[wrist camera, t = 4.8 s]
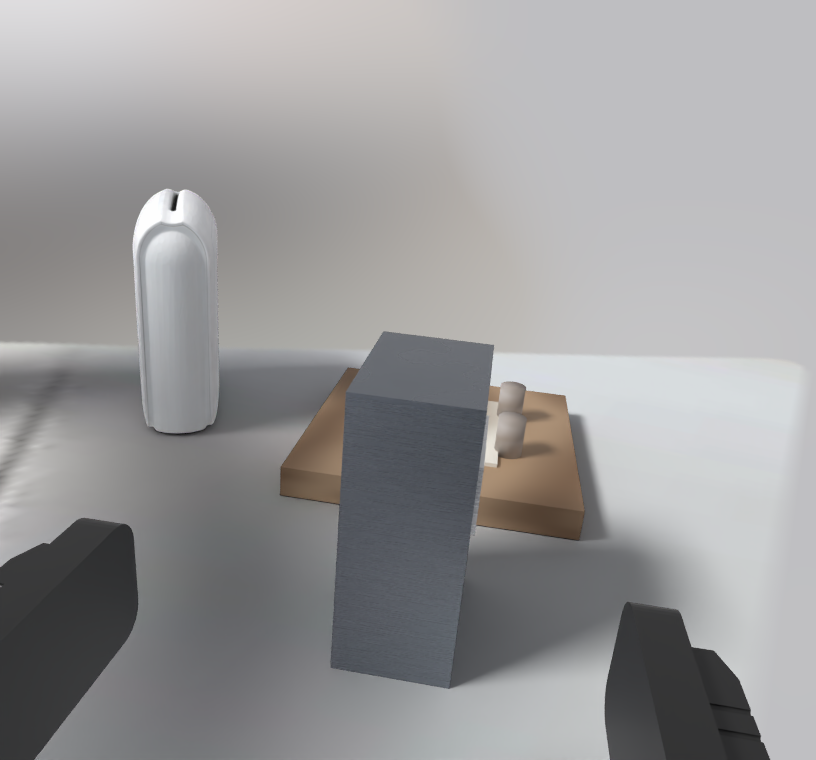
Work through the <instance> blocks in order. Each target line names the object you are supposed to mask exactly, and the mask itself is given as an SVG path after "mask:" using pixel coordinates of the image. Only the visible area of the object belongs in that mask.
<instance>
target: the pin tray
mask: <svg viewBox="0 0 816 760" xmlns="http://www.w3.org/2000/svg"><path fill="white" fill-rule="evenodd" d="M359 370H360V369H356V368H348V369H347V370H346V372H345V373H344V374H343V376H342V377H341V379H340V380H339V382H338V383H337V385H336V386H335V388H334V389H333V391H332V392H331V394H330V395H329V397H328V398H327V400H326V401H325V402H324V404H323V405H322V407H321V408H320V410H319V411H318V413H317V414H316V416H315V417H314V419H313V420H312V422H311V423H310V425H309V426H308V428H307V429H306V430H305V432H304V433H303V435H302V436H301V438H300V439H299V441H298V442H297V444H296V445H295V447H294V448H293V450H292V451H291V453H290V454H289V456H288V457H287V459H286V460H285V461H284V463H283V464H282V466H281V479H280V495H284V496H290V497H297V498H303V499H310V500H317V501H323V502H330V503H336V504H340V488H341V470H342V452H343V434H344V416H345V398H346V391H347V389H348V388H349V386H350V384H351V383H352V381H353V380H354V378H355V376H356V375H357V373H358V372H359ZM487 415H488V416H489V421H488V432H487V442H486V452H485V463H484V471H483V479H482V486H481V493H480V500H479V508H478V515H477V522H476V525H482V526H488V527H495V528H501V529H508V530H515V531H521V532H528V533H534V534H541V535H548V536H554V537H561V538H567V539H574V540H579V538H580V533H581V528H582V523H583V518H584V513H585V510H584V504H583V498H582V492H581V486H580V480H579V474H578V468H577V462H576V457H575V451H574V445H573V439H572V433H571V427H570V421H569V415H568V409H567V403H566V398H565V396H563V395H556V394H548V393H540V392H533V391H526V387H525V386H524V385H523V384H520V383H517V382H503V383H502V384H501V387H494V386H490V388H489V397H488V407H487Z"/></svg>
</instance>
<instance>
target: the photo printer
mask: <svg viewBox="0 0 816 760" xmlns="http://www.w3.org/2000/svg"><path fill="white" fill-rule="evenodd" d="M133 259H134V277H135V278H134V279H135V297H136V312H137V330H138V348H139V364H140V379H141V393H142V405H143V411H144V417H145V420H146V423H147V426H148V427H154V428H155V430H156V431H159V432H164V433H190V432H196V431H200V430H203V429H205V427H206V426H207V425H212V424H213V423H214V421H215V418H216V415H217V409H218V400H219V343H218V283H217V282H218V276H217V275H218V273H217V272H218V269H217V268H218V267H217V226H216V222H215V218H214V215H213V214H212V212H211V210H210V208H209V207H208V205H207V204H206V202H205V201H204V200H203V199H202V198H201V197H200V196H198V195H197V194H195V193H194V192H192V191H190V190H182V191H181V192H175V191H173V190H170V189H165V190H163V191H160V192H158V193H157V194H155V195H154V196H152V197H151V198H150V199H149V200H148V201H147V203H146V204H145V206H144V207H143V209H142V211H141V213H140V215H139V217H138V220H137V223H136V226H135V231H134V238H133Z"/></svg>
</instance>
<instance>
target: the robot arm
mask: <svg viewBox="0 0 816 760" xmlns="http://www.w3.org/2000/svg"><path fill="white" fill-rule="evenodd" d="M137 610H138V591H137V577H136V564H135V550H134V538H133V532H132V530H131V528H130V527H129V526H128V525H126V524H120V523H114V522H107V521H101V520H95V519H88V518H81V519H79V520H77V521H76V522H74V523H73V524H72V525H71V526H70V527H69V528H67V529H66V530H65V531H64V532H63V533H62V534H61V535H59V536H58V537H57V538H56V539H55V540H54V541H53V542H52V543H50V544H46V543H42V544H40V545H38V546H36V547H34V548H32V549H30V550H28V551H26V552H24V553H22V554H20V555H18V556H16V557H14V558H12V559H10V560H9V561H7V562H6V563H5V564H4V565H3V566H2V567H0V760H34V759H35V758H36V757H37V755H38V754H39V753H40V751H41V750H42V749H43V747H44V746H45V745H46V744H47V742H48V741H49V740H50V738H51V737H52V736H53V735H54V733H55V732H56V731H57V729H58V728H59V727H60V725H61V724H62V723H63V722H64V720H65V719H66V718H67V716H68V715H69V714H70V713H71V711H72V710H73V709H74V707H75V706H76V705H77V703H78V702H79V701H80V700H81V698H82V697H83V696H84V694H85V693H86V692H87V691H88V689H89V688H90V687H91V685H92V684H93V683H94V682H95V680H96V679H97V678H98V676H99V675H100V674H101V672H102V671H103V670H104V669H105V667H106V666H107V665H108V663H109V662H110V661H111V660H112V658H113V657H114V656H115V654H116V653H117V652H118V650H119V649H120V648H121V647H122V645H123V644H124V643H125V641H126V640H127V638H128V637H129V635H130V633H131V631H132V628H133V626H134V623H135V620H136V616H137ZM750 711H751V709H750V707H749V704H748V702H747V699H746V697H745V694H744V691H743V689H742V686H741V684H740V681H739V679H738V678H737V677H736V676H735V674H734V673H733V672H732V671H731V670H730V669H729V668H728V666H727V665H726V664H725V663H724V662H723V661H722V660H721V658H720V657H719V656H718V655H717V654H716V653H715V652H714V651H712V650H706V649H700V648H694V647H691V644H690V641H689V638H688V635H687V632H686V629H685V626H684V623H683V619H682V616H681V614H680V612H679V611H678V610H676V609H669V608H663V607H657V606H650V605H644V604H638V603H631V602H627V603H626V604H625V606H624V609H623V612H622V616H621V620H620V625H619V629H618V634H617V638H616V643H615V647H614V652H613V656H612V661H611V665H610V670H609V674H608V679H607V684H606V692H605V725H606V733H607V740H608V748H609V755H610V760H770V758H769V756H768V753H767V751H766V748H765V745H764V743H762V742H761V740H760V738H761V735H760V733H759V730H758V727H757V725H756V722H755V720H754V717H753V716H751V714H750Z"/></svg>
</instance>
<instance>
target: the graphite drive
mask: <svg viewBox="0 0 816 760" xmlns="http://www.w3.org/2000/svg"><path fill="white" fill-rule="evenodd" d="M493 350H494V345H488V344H480V343H473V342H465V341H457V340H448V339H441V338H432V337H425V336H416V335H408V334H400V333H392V332H383V333H382V335H381V336H380V338H379V340H378V341H377V343H376V345H375V346H374V348H373V349H372V351H371V352H370V354H369V356H368V357H367V359H366V360H365V362H364V364H363V365H362V367H361V368H360V370H359V372H358V373H357V375H356V376H355V378H354V380H353V381H352V383H351V384H350V386H349V388H348V389H347V391H346V398H345V416H344V434H343V452H342V470H341V488H340V506H339V524H338V543H337V561H336V579H335V597H334V615H333V633H332V651H331V668H336V669H341V670H347V671H352V672H358V673H364V674H369V675H375V676H381V677H386V678H392V679H397V680H403V681H409V682H414V683H420V684H426V685H431V686H437V687H442V688H448V689H449V687H450V680H451V673H452V665H453V658H454V650H455V643H456V636H457V628H458V621H459V614H460V606H461V599H462V592H463V584H464V577H465V570H466V562H467V555H468V548H469V540H470V535H473V536H475V529H476V522H477V515H478V508H479V500H480V493H481V486H482V479H483V471H484V463H485V452H486V442H487V432H488V421H489V416H488V415H487V407H488V397H489V388H490V378H491V369H492V359H493Z"/></svg>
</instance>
